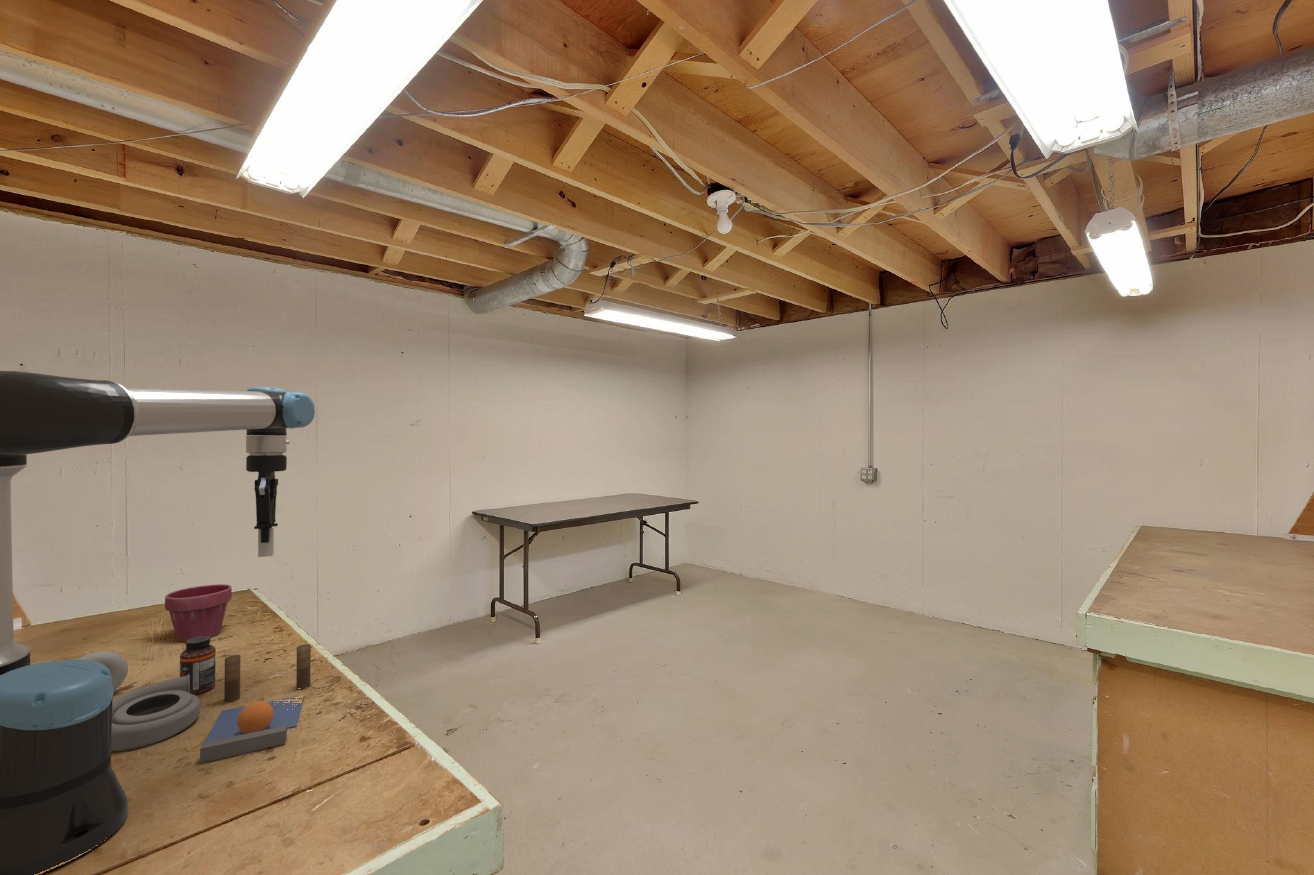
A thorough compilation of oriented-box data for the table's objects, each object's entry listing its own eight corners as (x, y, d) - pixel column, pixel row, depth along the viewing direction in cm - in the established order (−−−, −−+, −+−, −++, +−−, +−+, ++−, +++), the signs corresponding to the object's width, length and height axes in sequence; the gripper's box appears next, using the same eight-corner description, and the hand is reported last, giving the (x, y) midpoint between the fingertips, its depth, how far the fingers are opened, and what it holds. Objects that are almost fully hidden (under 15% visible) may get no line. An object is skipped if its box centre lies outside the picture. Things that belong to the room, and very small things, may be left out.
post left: (238, 701, 110) (238, 658, 110) (222, 703, 109) (223, 660, 109) (241, 695, 113) (241, 653, 113) (225, 698, 111) (226, 656, 111)
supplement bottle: (174, 692, 114) (174, 640, 114) (207, 681, 119) (208, 632, 119) (186, 699, 111) (187, 646, 111) (220, 687, 116) (221, 636, 116)
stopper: (285, 744, 95) (285, 730, 95) (199, 763, 89) (199, 748, 89) (286, 738, 97) (287, 725, 97) (203, 757, 91) (203, 742, 91)
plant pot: (182, 629, 152) (183, 585, 152) (240, 624, 156) (240, 581, 156) (152, 648, 138) (152, 600, 138) (216, 642, 142) (216, 595, 142)
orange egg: (273, 691, 101) (276, 708, 103) (237, 699, 98) (241, 715, 101) (270, 718, 97) (273, 734, 100) (233, 727, 94) (236, 743, 97)
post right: (309, 687, 116) (310, 647, 116) (295, 690, 115) (295, 649, 115) (310, 682, 119) (311, 643, 119) (297, 685, 117) (297, 645, 118)
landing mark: (296, 726, 101) (296, 725, 101) (202, 746, 94) (202, 745, 94) (304, 695, 113) (304, 694, 113) (222, 711, 106) (222, 710, 106)
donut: (58, 711, 106) (59, 661, 106) (59, 705, 108) (59, 657, 108) (128, 693, 113) (129, 647, 113) (127, 688, 116) (128, 643, 116)
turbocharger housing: (84, 772, 89) (201, 738, 99) (84, 735, 89) (201, 704, 99) (94, 725, 101) (197, 699, 111) (94, 692, 101) (198, 669, 111)
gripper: (282, 454, 117) (281, 559, 117) (290, 453, 129) (289, 549, 129) (240, 455, 114) (239, 563, 114) (252, 453, 125) (251, 552, 125)
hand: (265, 555), depth 121 cm, fingers closed
